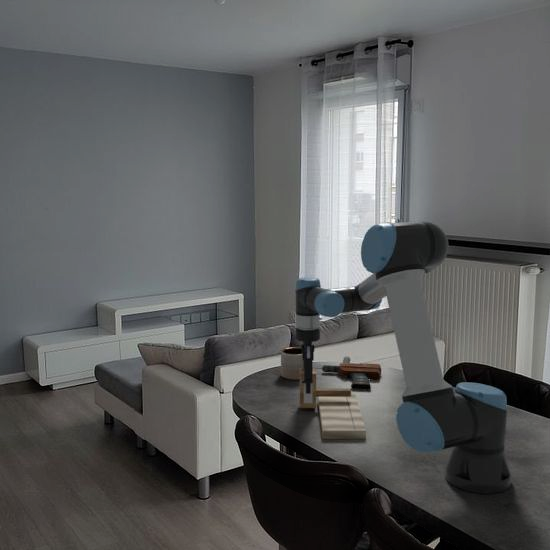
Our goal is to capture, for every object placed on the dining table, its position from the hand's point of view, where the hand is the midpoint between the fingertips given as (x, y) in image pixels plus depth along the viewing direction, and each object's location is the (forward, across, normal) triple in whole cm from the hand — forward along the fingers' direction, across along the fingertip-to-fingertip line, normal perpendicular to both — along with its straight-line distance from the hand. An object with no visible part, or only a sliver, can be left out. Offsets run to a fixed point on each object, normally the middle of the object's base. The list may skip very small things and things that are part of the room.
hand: (307, 398), depth 204 cm
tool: (+4, +34, -14) cm, 37 cm away
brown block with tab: (+2, 0, -5) cm, 6 cm away
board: (+3, -9, -10) cm, 13 cm away
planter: (+3, +34, +4) cm, 34 cm away
